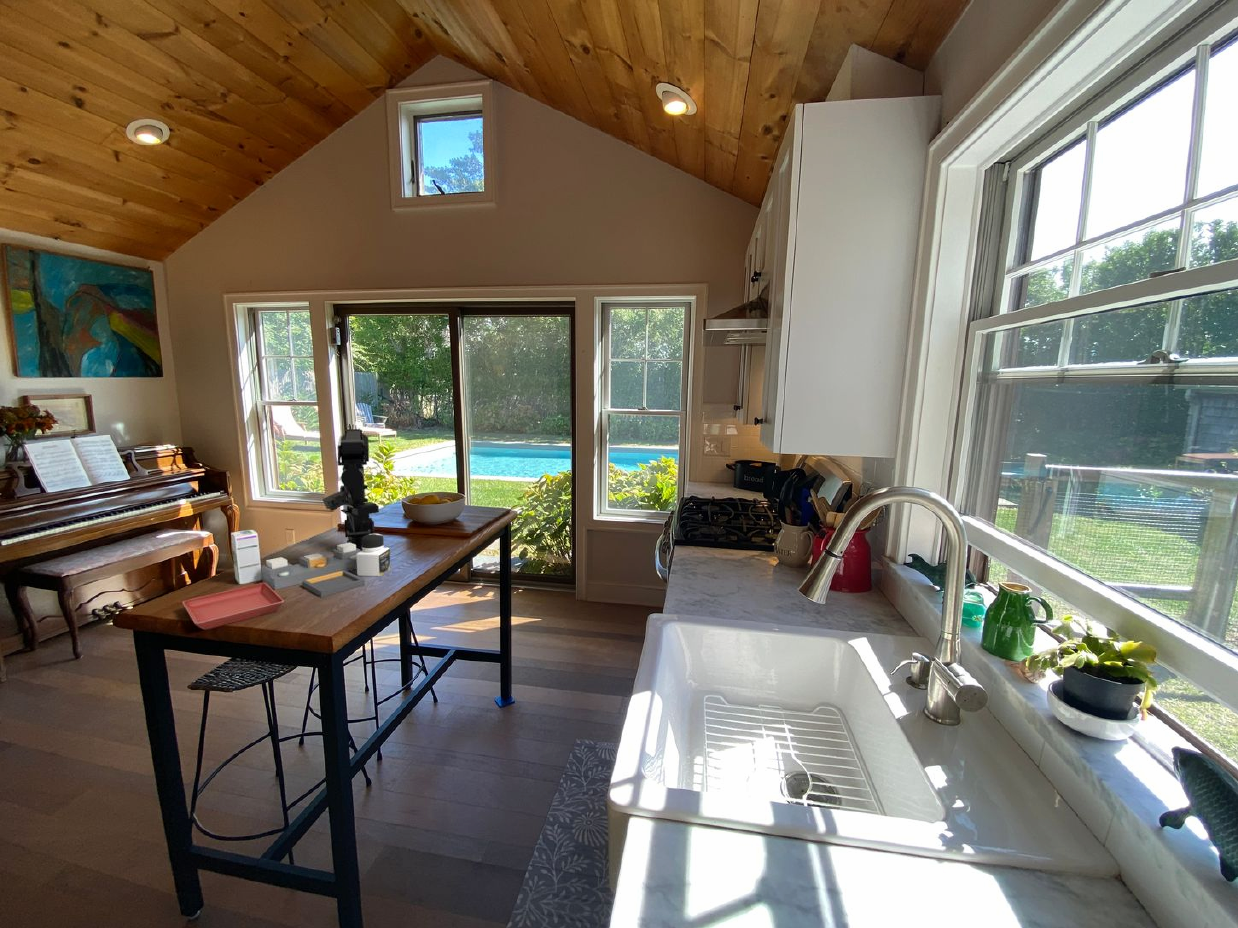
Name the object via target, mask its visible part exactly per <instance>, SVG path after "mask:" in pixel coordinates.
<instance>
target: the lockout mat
mask: <svg viewBox="0 0 1238 928" xmlns="http://www.w3.org/2000/svg"><path fill="white" fill-rule="evenodd" d="M301 584H302V587H303V588H305V589H306V590H308V591H310V592H312V593H313V594H314V595H317V596H319V597H320V598H323V597H328V596H331V595H333V594H337V593H340V592H344V591H348V589H349V590H351V588H352V589H355V588H359V587H363V586H366V582H365V578H362V577H361V576H358V575H357V574H356V575H355V574H354V573H351V572H350V571H345V570H344V571H340V572H336V573H332V574H328V575H324V576H320V577H317V578H313V579H309V580H305V581H302V583H301Z"/></svg>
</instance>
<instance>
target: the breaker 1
mask: <svg viewBox="0 0 1238 928" xmlns="http://www.w3.org/2000/svg"><path fill="white" fill-rule="evenodd" d="M265 562H266V565H267V567H268V568H270V569H275V568H279V567H283V566H288V564H287V563H288V560H287V558H284V557H281V556H280V557H276V558H271V559H267V560H265Z"/></svg>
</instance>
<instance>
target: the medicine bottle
mask: <svg viewBox="0 0 1238 928" xmlns="http://www.w3.org/2000/svg"><path fill="white" fill-rule="evenodd" d="M384 544H385V543H384V535H382V534H380V533H375V534H368V535H365V536H364V537H362V549H363V550H362V551H360V552H359V553H357V554H356V558H357V569H356V576H358V577H381V576H382V575H384V574H385V573H387V572H388V571H389V570H390V569H391V557H390V555H391V554H390V553H391V552H390V547H385V546H384ZM387 570H388V571H387Z"/></svg>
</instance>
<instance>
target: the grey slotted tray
mask: <svg viewBox="0 0 1238 928" xmlns="http://www.w3.org/2000/svg"><path fill="white" fill-rule="evenodd" d="M332 552H333V555H332V556H326V555H325V554H323V553H320V552H317V553H318V554H321V555H323V558H319V559H314V560H310V561H309V560H307V559H304V556H300V557H299V563H297V564H291V563H290V562H287V564H288V566H283V567H279V568H275V569H270V568H268V567H267V564H263V565H261V573H262V583H266V584H267V585H268V586H269V587H270V588H271V589H273V590H274V591H276V590H280V589H283V588H287V587H292V586H295V585H299V584H302V581H305V580H309V579H313V578H317V577H320V576H324V575H328V574H332V573H336V572H340V571H344V570H345V571H347V572H350V571H354V570H357V558H356V554H357V553H359V552H360V549H358V548H356V550H354V551H349V552H345V553H342V552H340V551H338V550H337V548H336V549H333V551H332ZM349 570H350V571H349Z"/></svg>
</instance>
